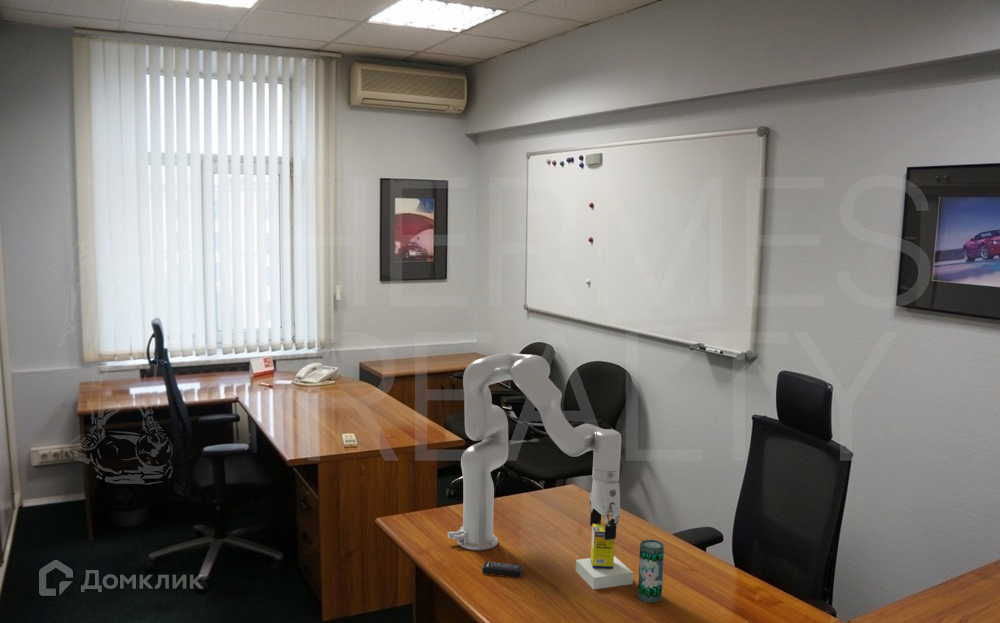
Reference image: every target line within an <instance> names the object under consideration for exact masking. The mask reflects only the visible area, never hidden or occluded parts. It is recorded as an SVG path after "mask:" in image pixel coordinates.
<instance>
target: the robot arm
mask: <svg viewBox="0 0 1000 623" xmlns="http://www.w3.org/2000/svg"><path fill="white" fill-rule="evenodd" d="M550 375H551V366H550V363H549V362H548V361H547V360H546V358H544V357H543V356H541V355H537V354H525V353H524V354H523V353H515V352H503V353H498V354H493V355H489V356H484V357H481V358H478V359H476V360H474V361H472V362H471V363H470V364H469V365H467V367H466V368H465V370H464V373H463V376H462V377H463V378H462V384H463V385H462V386H463V387H462V388H463V394H464V395H463V397H464V403H463V404H464V407H463V408H464V431H465V435H466V436H467V438H469V439H470V440H472V441H477V442H478V441H479V442H478V443H475V444H472V445H471V446H469V447H468V448H466V449H464V451H463V453H462V455H461V458H460V467H461V472H462V482H463V484H462V485H463V487H462V488H463V490H462V491H463V493H462V494H463V498H462V499H463V500H462V501H463V503H462V504H463V505H462V526H460V528H459V529H458V530H457V531H448V532H447V538H448V539H453V541H457V543H458V546H460V547H462V548H463V549H467V550H470V551H486V550H490V549H493V548H494V547H496V546H498V544H499V543H498V542H499V540H498V537H497V536H496V535H495V534H494V507H495V506H494V502H495V501H494V498H495V497H494V496H495V490H494V489H495V486H494V481H493V479H492V475H491V472H492V471H494V470H496V469H498V468H501V467H502V466H503V465H504V464H505V463H506V462H507V460H508V458H509V422H508V421H509V420H508V416H507V414H506V412H505V411H504V410H503V408H501V407H500V406H499V405H495V404H492V403H493V400H492V399H493V398H492V392H491V389H490V387H489V386H490V385H495V384H497V383H501V382H504V381H509V380H511V381H513V383H514V384H515V385H516V386H517V387H518V389H519V390H520V391H521V392H522V393H523V394H524V396H525V397H526V398H527V399H528V400H529V401H530V402H531V403H532V405H533V406H534V407H535V408H536V409H537V410H538V412H539V415H540V417H541V418H540V419H541V421H542V425H543V427H544V430H545V431H546V433H547V435H548V436H549V437H550V438H551V440H552V441H553V442H554V444H555V445H556V446H557V448H559V449H560V450H561V451H562V452H563V453H564V454H566V455H568V456H569V457H579V456H582V455H583V454H586V453H587V452H591V451H593V458H592V459H593V460H592V474H591V475H592V476H591V478H592V483H591V492H590V493H589V505H590V508H589V510H590V519H589V523H590V524H589V526H591V527H592V524H602V517H604V519H605V522H606V523H605V524H607V525H605V539H606V540H608V539H616V538H617V526H618V523H619V522H620V521H619V520H620V517H621V515H620V514H621V513H620V511H621V492H620V491H621V490H620V489H621V488H620V482H619V481H620V471H621V470H620V469H621V455H622V454H621V451H622V435H621V433H620V432H619V431H617V430H615V429H609V428H607V429H605V428H601V427H599V426H596V425H594V424H591V423H583V424H581V425H578V426H576V427H573V426H572V425H571V424H570V422H569V421H568V420H567V419H566V417H565V416H564V413H563V412H562V408H561V403H562V402H561V401H562V398H563V394H562V391H561V390H560V388H558V387H557V386H556V385H555V384H554V382H553V381H552V380H551V379H550V378H549V376H550ZM609 518H611V519H609Z"/></svg>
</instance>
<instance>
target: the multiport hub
mask: <svg viewBox="0 0 1000 623" xmlns="http://www.w3.org/2000/svg"><path fill="white" fill-rule="evenodd" d="M481 570H482V574H483V573H487V574H486V575H489V574H494V575H493V576H498V575H503V576H502V577H506V576H508V578H516V579H519V578H520V577H521V576H522V574H523V565H522V564H516V563H515V564H514V563H508V562H507V563H506V562H498V561H490V560H489V561H488V560H485V562H483V565H482V569H481Z"/></svg>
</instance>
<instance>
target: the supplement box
mask: <svg viewBox="0 0 1000 623" xmlns="http://www.w3.org/2000/svg"><path fill="white" fill-rule="evenodd" d="M605 525H607V524H606V523H601V524H592V526H591V542H590V557H589V558H590V559H591V564H592V567H593V568H604V569H613V561H614V556H615V555H614V554H615V541H616V540H615V539H616V538H615V539H608V540H606V539H605Z"/></svg>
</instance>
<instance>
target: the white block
mask: <svg viewBox="0 0 1000 623" xmlns="http://www.w3.org/2000/svg"><path fill="white" fill-rule="evenodd" d="M590 558H591V557H589V558H588V557H587V558H581V559H576V560H575V572H576V574H578V575H579V576H580V577H581V578H582V579H583V580H584V581H585V582H586V583H587V585H589V586H590V588H592V590H599V589H606V588H607V589H609V588H613V587H620V586H621V585H622V586H628V585H633V582H634V581H633V577H634V572H633V571H632V570H631V569H629V567H628V566H626V564H624V563H623V562H622V561H621V560H620V559H619V558H618V557H617V556H615V555H614V561H613V569H604V568H593V567H592V564H591V559H590ZM622 586H621V587H622Z"/></svg>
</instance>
